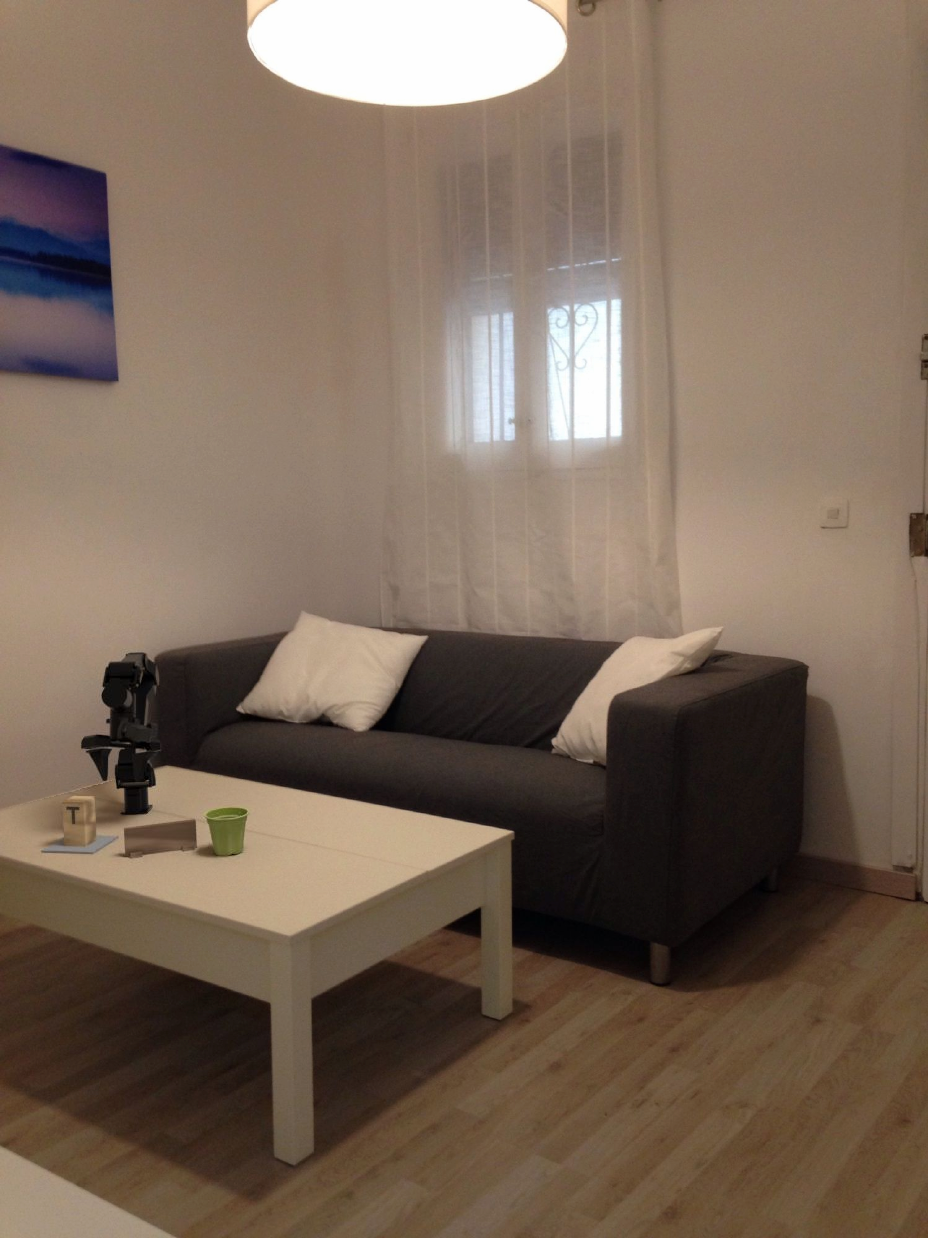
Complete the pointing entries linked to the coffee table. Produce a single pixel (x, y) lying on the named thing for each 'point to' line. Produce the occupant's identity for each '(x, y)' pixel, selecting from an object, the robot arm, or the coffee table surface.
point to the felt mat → (90, 849)
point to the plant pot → (227, 829)
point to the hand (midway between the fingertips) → (121, 781)
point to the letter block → (79, 821)
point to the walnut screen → (160, 838)
